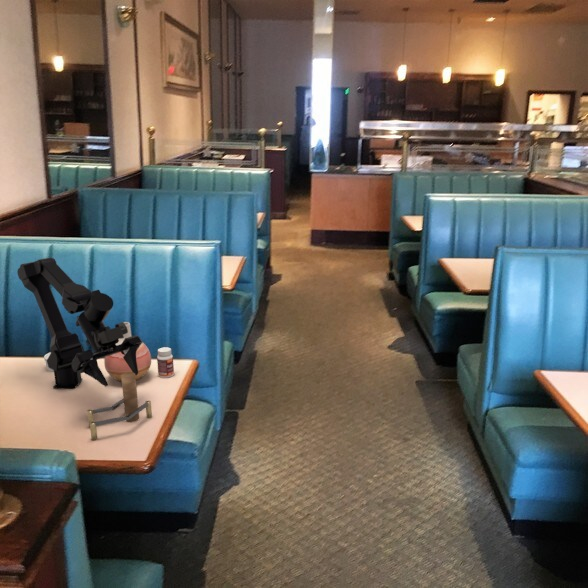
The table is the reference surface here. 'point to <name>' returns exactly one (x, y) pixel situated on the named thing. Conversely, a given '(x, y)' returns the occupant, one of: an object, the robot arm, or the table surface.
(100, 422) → the wire course
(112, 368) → the vase
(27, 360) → the table surface
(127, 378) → the walnut peg
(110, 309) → the robot arm
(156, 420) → the table surface
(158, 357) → the pill bottle
